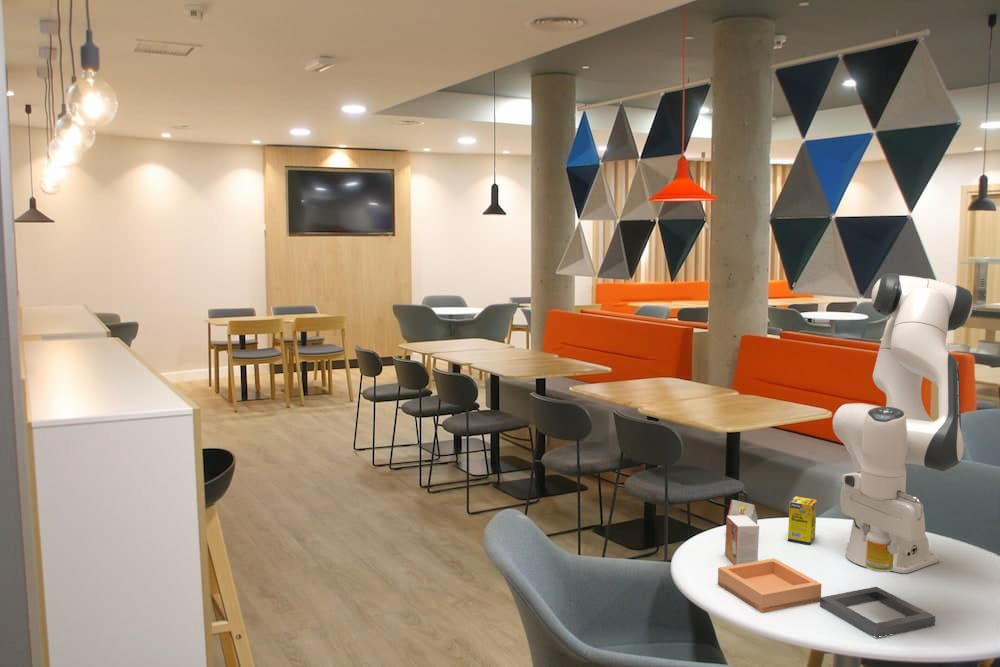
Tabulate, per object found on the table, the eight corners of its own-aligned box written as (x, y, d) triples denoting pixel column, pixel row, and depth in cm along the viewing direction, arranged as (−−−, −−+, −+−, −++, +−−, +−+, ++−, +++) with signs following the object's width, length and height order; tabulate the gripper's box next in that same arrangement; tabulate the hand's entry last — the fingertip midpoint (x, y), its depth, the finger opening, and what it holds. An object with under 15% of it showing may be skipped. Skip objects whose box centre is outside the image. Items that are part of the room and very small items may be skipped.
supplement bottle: (895, 573, 177) (897, 529, 176) (868, 572, 178) (870, 528, 177) (889, 563, 183) (891, 520, 181) (862, 561, 184) (864, 519, 182)
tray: (773, 574, 203) (774, 558, 203) (820, 601, 189) (821, 583, 188) (717, 584, 198) (718, 567, 197) (761, 612, 183) (762, 594, 182)
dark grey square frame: (876, 595, 192) (876, 586, 191) (934, 625, 177) (935, 616, 177) (819, 606, 186) (820, 597, 186) (875, 638, 171) (876, 629, 171)
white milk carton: (734, 533, 231) (735, 498, 230) (756, 539, 226) (757, 503, 225) (727, 536, 229) (728, 501, 227) (749, 543, 224) (751, 506, 223)
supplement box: (810, 545, 222) (812, 505, 221) (787, 541, 225) (788, 501, 224) (815, 538, 227) (817, 499, 226) (792, 534, 230) (794, 495, 229)
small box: (724, 555, 216) (725, 515, 214) (745, 554, 216) (747, 514, 215) (735, 567, 208) (737, 526, 206) (757, 566, 208) (759, 525, 207)
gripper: (934, 497, 169) (931, 563, 171) (858, 470, 188) (856, 529, 190) (910, 501, 167) (907, 567, 169) (836, 473, 186) (833, 533, 188)
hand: (879, 547), depth 180 cm, fingers closed on supplement bottle, 5 cm apart
